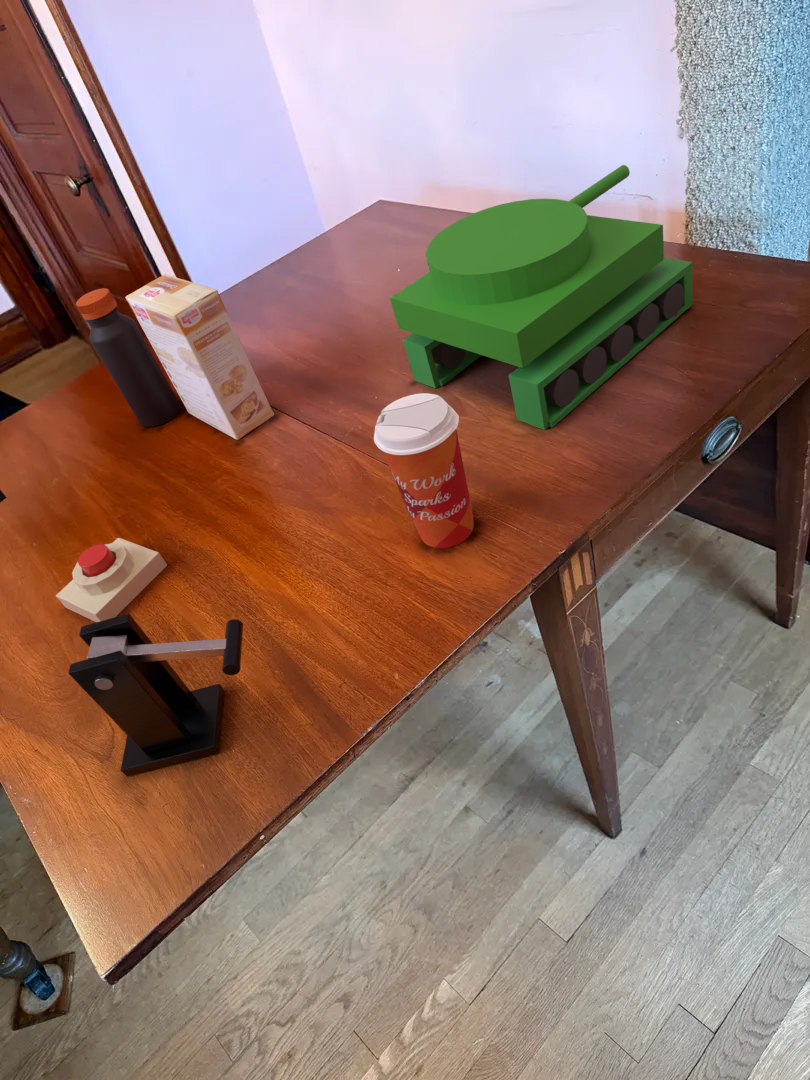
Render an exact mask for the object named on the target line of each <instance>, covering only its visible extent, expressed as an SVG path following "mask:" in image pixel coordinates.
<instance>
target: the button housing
mask: <svg viewBox="0 0 810 1080" xmlns="http://www.w3.org/2000/svg"><path fill="white" fill-rule="evenodd" d="M104 545H106V546H107V547H108V548H109V550H110V551H111V552H112V554H113V555H114V556H115V562H114V564H113V565H112V566H111V567H110V568H109V569H108V570H107V571H106V572H104V573H102V574H100V575H98V576H94V577H90V576H88V575H87V574H86V573H85V572H84V571H83V569H82V568H81V567H80V566H79V564H78V561H77V562H76V564H75V566H74V568H73V570H72V572H71V575H72V580H70V582H68V583H67V584H66V585H65V586H63V588H62V589H61V590H60V591H59V592H58V593H56V595H55V597H56V598H57V600H59V601H60V603H61V604H62V605H63V607H65V608H66V609H67V610H70V611H72V612H73V613H76V614H77V615H80V616H82V617H84V618H86V619H87V620H91V621H93V623H96V622H100V621H103V620H107V619H111V618H114V617H118V615H119V614H120V613H122V611H123V610H125V608H127V606H129V604H131V603H132V601H134V599H135V598H137V596H138V595H139V594H141V592H143V590H145V589H146V587H147V586H148V585H150V584H151V582H152V581H153V580H155V578H156V577H157V576H158V575H160V574H161V573H162V572H163V571H164V570H165V569H166V567H168V564H167V562H166V561H165V559H164V558H163V556H162V554H161V553H160V552H159V551H156V550H153V549H151V548H148V547H145V546H142V545H140V544H137V543H134V542H132V541H129V540H127V539H124V538H122V537H117V538H116V539H114V540H113V542H111V543H104Z"/></svg>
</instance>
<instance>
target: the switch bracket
mask: <svg viewBox="0 0 810 1080" xmlns="http://www.w3.org/2000/svg"><path fill="white" fill-rule="evenodd" d="M120 635H127V637H128V640H129V643H130V645H143V644H154V643H153V642H152V640H151V639H150V638H149V637H148V636H147V634H146V633H145V632H144V630H143V629H142V628H141V627H140V625H139V624H138V623H137V621H136V620H135V619H134V618H133V616H131V614H130V613H126V614H122V615H119V616H118V615H117V616H116V617H114V618H111V619H107V620H103V621H100V622H93V623H88V624H86V625H83V626H81V627H80V630H79V634H78V636H79V637H80V638H81V639H82V641H83V642H85V644H86V645H87V646H88V648H90V644H91V641H92V638H93V637H106V636H120ZM67 674H68V675H69V676H70V677H71V678H72V679H73V680H74V682H76V683H77V685H79V687H80V688H81V689H83V690H84V692H85V693H86V694H87V695H88V696H89V697H90V698H91V699H92V700H93V701H94V702H95V703H96V704H97V706H99V707H100V708H101V709H102V710H103V712H104V713H105V714H106V715H107V716H108V717H109V718H110V719H111V720H112V721H113V722H114V723H115V724H116V725H117V726H118V727H119V728H120V729H121V731H123V733H125V734H126V739H125V745H124V750H123V754H122V759H121V765H120V772H121V773H122V774H124V776H125V777H127V778H128V777H131V776H135V775H139V774H143V773H147V772H152V771H155V770H159V769H163V768H167V767H170V766H175V765H178V764H181V763H186V762H187V763H188V762H190V761H194V760H198V759H202V758H206V757H210V756H213V755H217V754H220V748H221V736H222V725H223V724H222V723H223V715H224V713H223V712H224V702H225V701H224V700H225V688H224V687H223V686H222V685H221V683H216V684H213V685H208V686H205V687H201V688H198V689H193V690H191V689H190V688H189V687H188V686H187V684H185V682H184V681H183V680H182V678H181V677H180V676H179V674H178V673H177V672H176V671H175V670H174V668H173V667H172V666H171V665H170V663H169V662H168V660H163V661H149V662H136V663H131V662H130V661H129V659H128V658H127V657H126V656H125V655H124V653H123V652H122V651H121V650H120V651H116V652H112V653H109V654H105V655H101V656H98V657H94V658H90V659H87V658H86V659H84V660H80V661H75V662H72V663H71V664H70V665H69V668H68V672H67Z"/></svg>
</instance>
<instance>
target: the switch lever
mask: <svg viewBox="0 0 810 1080" xmlns="http://www.w3.org/2000/svg"><path fill="white" fill-rule="evenodd" d="M224 633H225V634H224V638H215V639H213V638H212V639H202V640H199V639H198V640H189V641H187V640H186V641H185V640H184V641H172V642H160V643H159V642H158V643H153V644H143V645H130V643H129V640H128V637H127V635H120V636H106V637H93V638H92V641H91V644H90V647H88V648H89V649H88V652H87V656H86V660H87V659H90V658H94V657H98V656H101V655H105V654H109V653H112V652H116V651H120V650H121V651H122V652H123V653H124V655H125V656H126V657H127V658H128V659H129V661H130V662H131V663H136V662H149V661H163V660H166V661H174V660H175V661H177V660H191V659H200V658H201V659H202V658H218V657H222V666H221V667H222V668H221V671H222V672H223V674H225V675H227V676H235V675H238V674H239V673H240V672H241V665H242V664H241V663H242V651H243V637H244V635H243V634H244V624H243V622H242V621H241V620H239V619H230V620H228V621H227V622H226V624H225V632H224Z"/></svg>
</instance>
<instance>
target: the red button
mask: <svg viewBox="0 0 810 1080" xmlns="http://www.w3.org/2000/svg"><path fill="white" fill-rule="evenodd" d="M77 562H78V564H79V566H80V567H81V568H82V569H83V571H84V572H85V573H86V574H87V575H88V576H90V577H94V576H98V575H100V574H102V573H104V572H106V571H107V570H108V569H109V568H110V567H111V566H112V565H113V564H114V562H115V556H114V555H113V554H112V552H111V551H110V550H109V548H108V547H107V546H106V545H105V543H104V544H103V543H98V544H95V545H92V546H90V547H88V548H87V549H85V550H84V551H83V552H82V553H81V554H80V555H79V557H78V559H77Z"/></svg>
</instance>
